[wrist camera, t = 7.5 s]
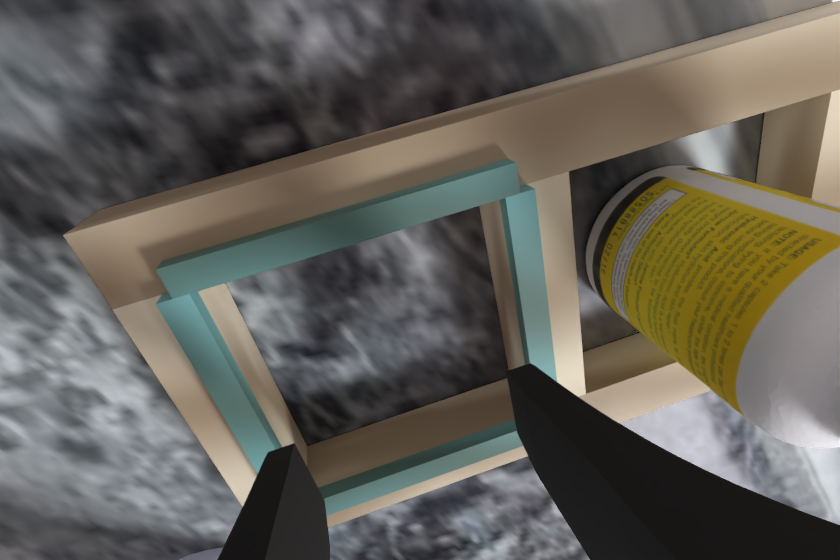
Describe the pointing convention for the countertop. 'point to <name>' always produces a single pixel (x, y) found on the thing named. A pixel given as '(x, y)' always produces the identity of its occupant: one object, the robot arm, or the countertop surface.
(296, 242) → the panel
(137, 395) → the countertop surface
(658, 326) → the supplement bottle
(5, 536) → the countertop surface
